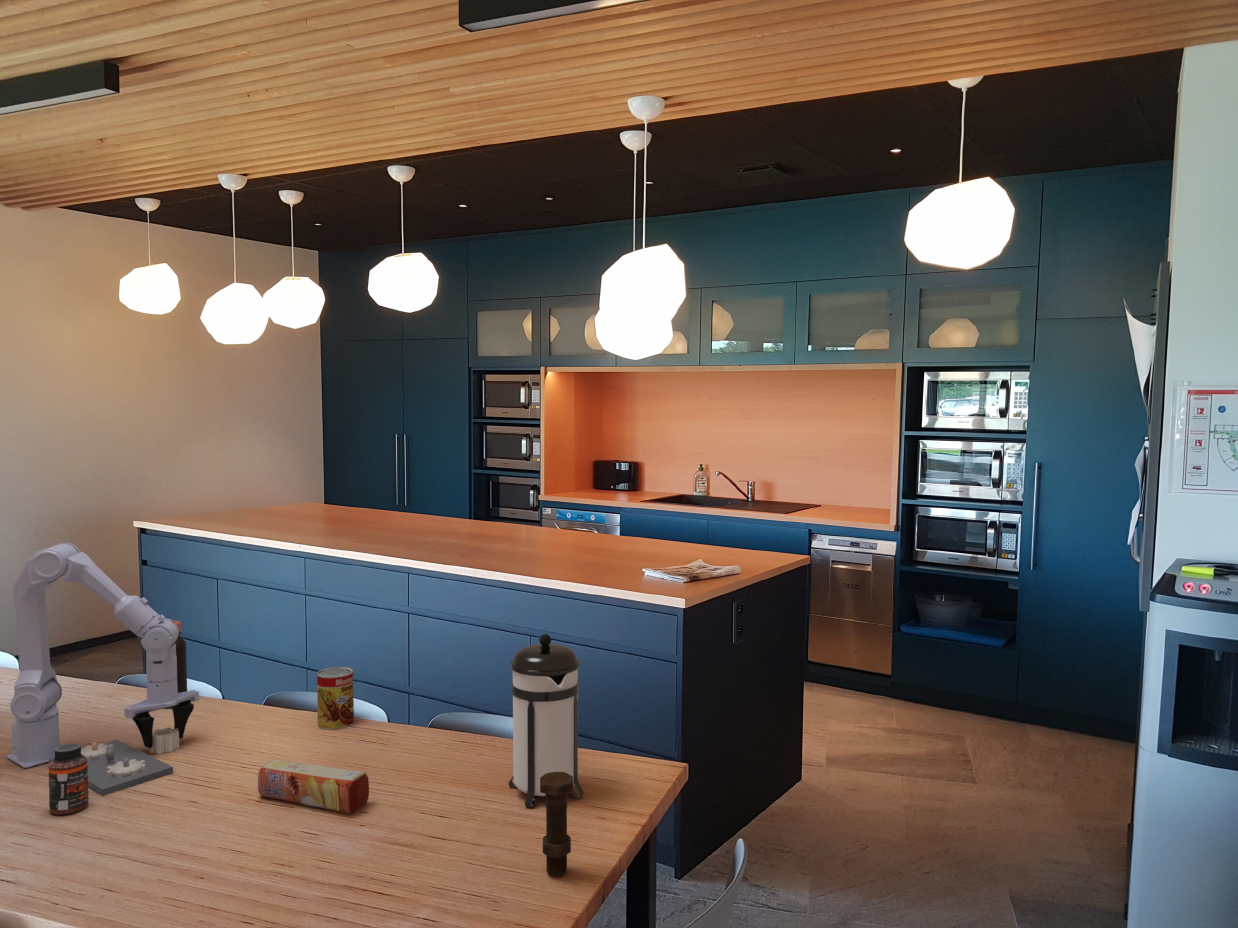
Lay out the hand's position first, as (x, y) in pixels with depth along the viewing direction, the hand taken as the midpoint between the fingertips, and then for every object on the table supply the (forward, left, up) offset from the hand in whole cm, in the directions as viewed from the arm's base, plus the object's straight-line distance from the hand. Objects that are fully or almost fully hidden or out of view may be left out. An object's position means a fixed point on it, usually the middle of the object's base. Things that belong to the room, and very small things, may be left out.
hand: (163, 742), depth 186 cm
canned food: (+16, +31, -2) cm, 35 cm away
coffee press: (+77, +33, -2) cm, 84 cm away
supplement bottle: (+15, -24, -2) cm, 28 cm away
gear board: (+2, -11, -1) cm, 12 cm away
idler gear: (0, 0, -1) cm, 1 cm away
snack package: (+47, +4, -2) cm, 47 cm away
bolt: (+99, +12, -2) cm, 100 cm away
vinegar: (-27, +15, -2) cm, 31 cm away
